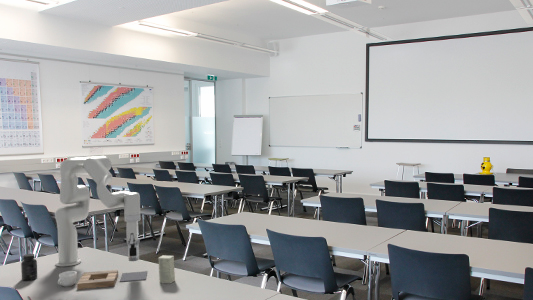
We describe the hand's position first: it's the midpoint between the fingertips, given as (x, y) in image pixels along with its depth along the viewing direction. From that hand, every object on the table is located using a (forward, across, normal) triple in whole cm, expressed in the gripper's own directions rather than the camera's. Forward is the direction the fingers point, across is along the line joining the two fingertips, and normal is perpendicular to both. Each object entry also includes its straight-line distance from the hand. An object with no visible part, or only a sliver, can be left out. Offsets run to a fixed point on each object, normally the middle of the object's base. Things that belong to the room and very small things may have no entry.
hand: (133, 253), depth 210 cm
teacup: (+12, +4, -30) cm, 33 cm away
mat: (+12, 0, 0) cm, 12 cm away
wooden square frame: (+12, +3, -16) cm, 20 cm away
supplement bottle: (+11, -10, -50) cm, 52 cm away
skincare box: (+12, +11, +16) cm, 23 cm away
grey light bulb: (+3, 0, 0) cm, 3 cm away
